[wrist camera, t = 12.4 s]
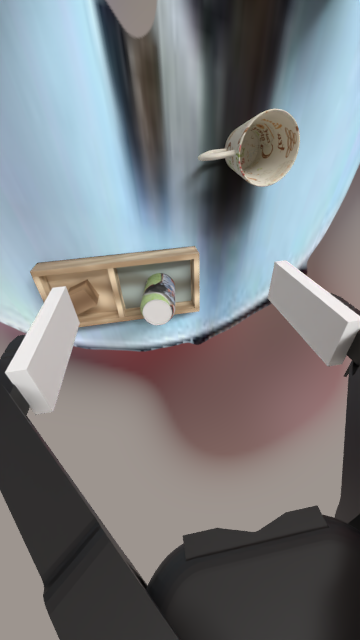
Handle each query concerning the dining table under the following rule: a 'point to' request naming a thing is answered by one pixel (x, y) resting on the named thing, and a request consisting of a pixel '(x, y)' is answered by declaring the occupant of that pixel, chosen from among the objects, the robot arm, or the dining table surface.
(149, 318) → the beverage can
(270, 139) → the mug
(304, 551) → the robot arm
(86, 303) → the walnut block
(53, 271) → the walled box
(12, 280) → the dining table surface
